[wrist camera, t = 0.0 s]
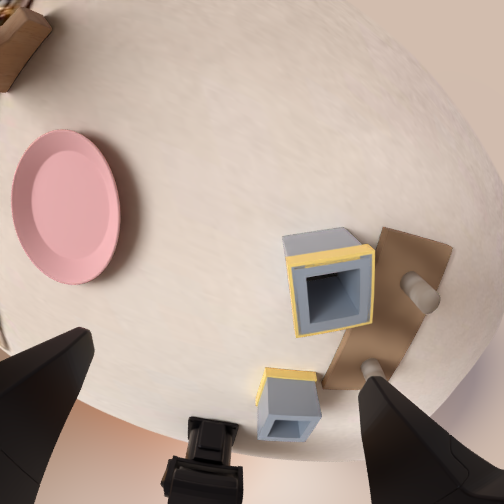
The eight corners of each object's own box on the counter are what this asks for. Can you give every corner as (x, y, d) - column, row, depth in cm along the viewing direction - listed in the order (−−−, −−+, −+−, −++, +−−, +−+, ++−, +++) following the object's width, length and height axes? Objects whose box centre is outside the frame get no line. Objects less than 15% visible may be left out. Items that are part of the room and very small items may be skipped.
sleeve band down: (300, 401, 28) (306, 442, 23) (255, 398, 28) (255, 440, 22) (315, 371, 26) (324, 415, 21) (265, 367, 26) (266, 412, 20)
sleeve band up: (348, 284, 23) (372, 323, 17) (287, 294, 23) (296, 337, 17) (345, 224, 21) (374, 250, 15) (279, 234, 21) (287, 264, 16)
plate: (154, 160, 19) (144, 161, 18) (109, 300, 24) (100, 310, 22) (42, 114, 17) (29, 114, 16) (17, 239, 22) (6, 245, 20)
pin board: (380, 383, 27) (393, 413, 23) (321, 382, 27) (329, 417, 22) (447, 244, 21) (478, 264, 16) (383, 226, 21) (412, 246, 16)
